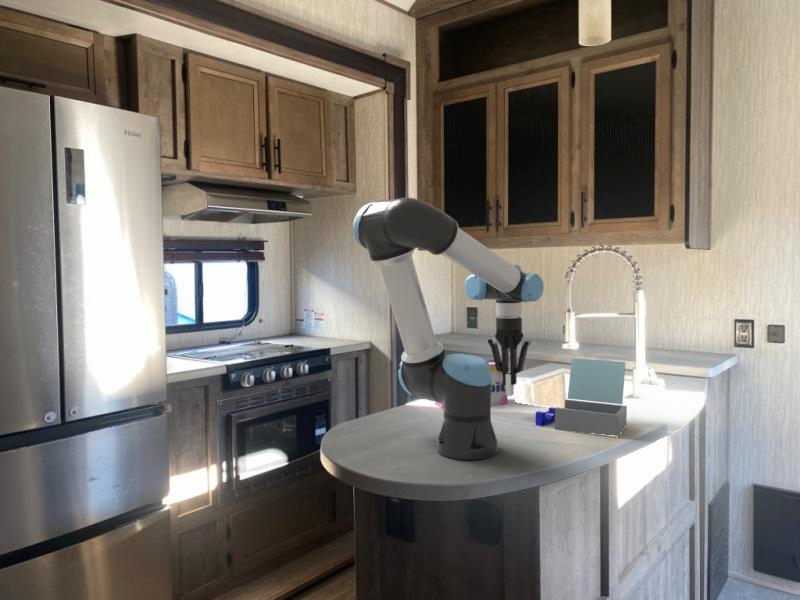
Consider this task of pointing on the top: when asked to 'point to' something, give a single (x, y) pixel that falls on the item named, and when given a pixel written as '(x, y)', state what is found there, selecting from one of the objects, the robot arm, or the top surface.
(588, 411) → the grey open box
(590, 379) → the cover
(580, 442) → the top surface
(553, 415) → the cable holder
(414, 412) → the top surface
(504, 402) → the gum box
